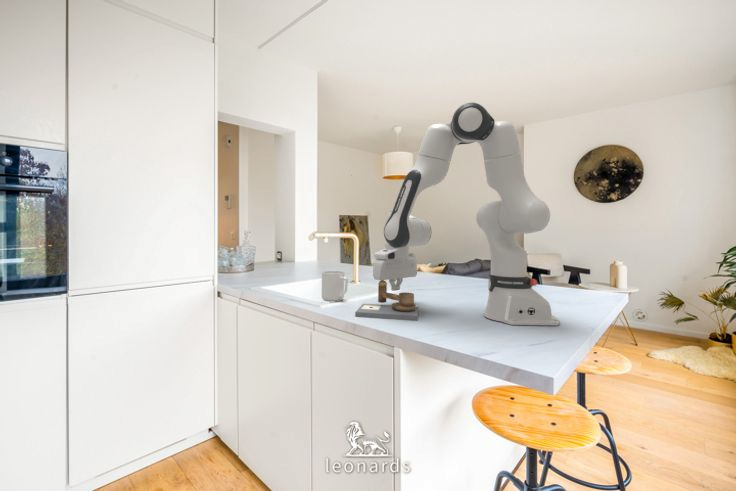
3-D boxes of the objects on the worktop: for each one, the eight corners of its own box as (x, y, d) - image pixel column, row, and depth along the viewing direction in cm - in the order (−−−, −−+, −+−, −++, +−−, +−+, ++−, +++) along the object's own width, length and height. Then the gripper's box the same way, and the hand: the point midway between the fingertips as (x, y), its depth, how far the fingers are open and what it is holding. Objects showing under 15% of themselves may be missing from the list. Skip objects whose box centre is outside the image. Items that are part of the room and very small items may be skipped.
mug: (316, 299, 138) (317, 272, 138) (332, 296, 145) (333, 270, 144) (338, 304, 130) (338, 275, 130) (354, 300, 137) (354, 273, 137)
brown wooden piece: (420, 309, 117) (421, 284, 117) (403, 312, 112) (404, 287, 112) (387, 300, 130) (387, 278, 129) (371, 303, 125) (371, 280, 124)
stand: (418, 311, 122) (418, 306, 122) (417, 320, 109) (417, 315, 109) (362, 307, 126) (362, 303, 125) (355, 316, 113) (355, 311, 113)
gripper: (409, 252, 139) (408, 286, 139) (370, 253, 125) (369, 291, 126) (421, 253, 134) (420, 289, 134) (382, 254, 120) (381, 294, 121)
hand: (395, 290), depth 130 cm, fingers closed
